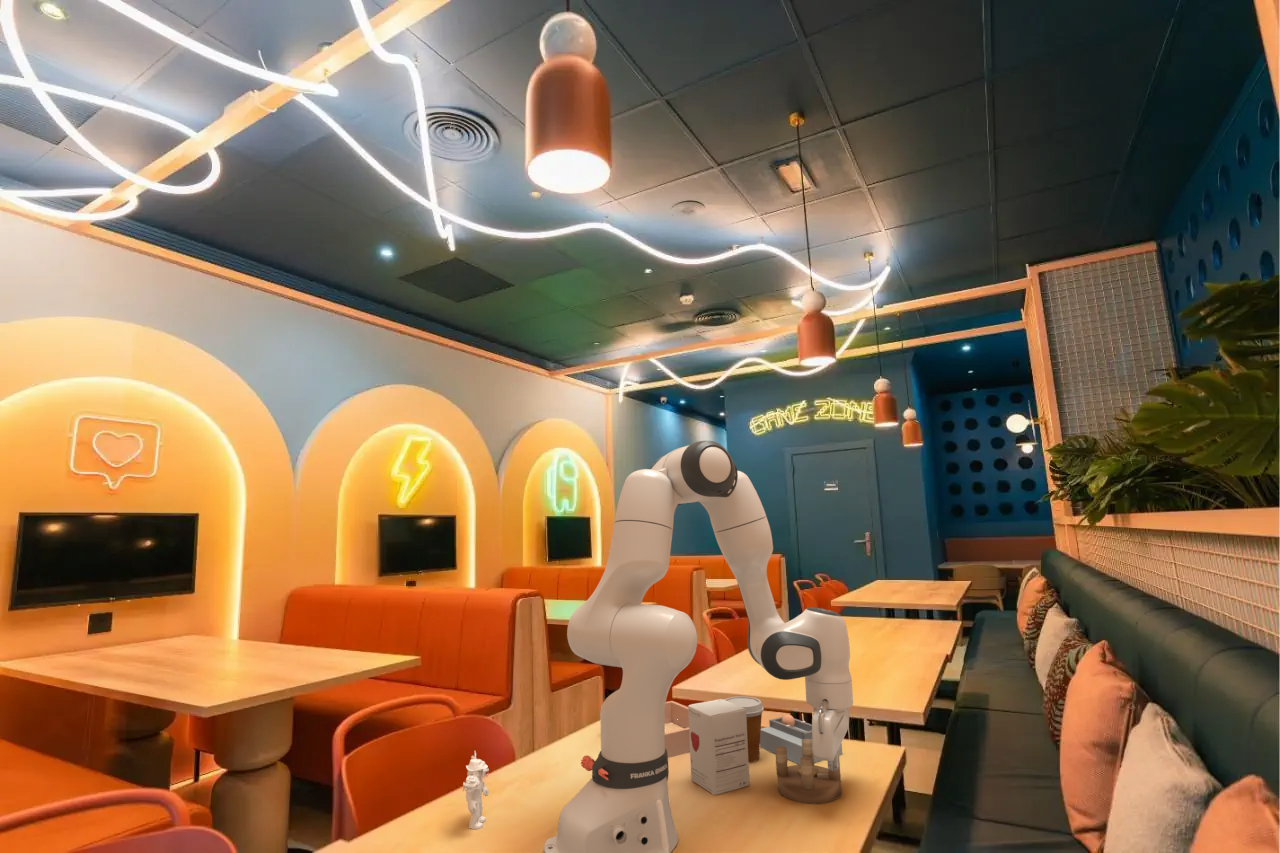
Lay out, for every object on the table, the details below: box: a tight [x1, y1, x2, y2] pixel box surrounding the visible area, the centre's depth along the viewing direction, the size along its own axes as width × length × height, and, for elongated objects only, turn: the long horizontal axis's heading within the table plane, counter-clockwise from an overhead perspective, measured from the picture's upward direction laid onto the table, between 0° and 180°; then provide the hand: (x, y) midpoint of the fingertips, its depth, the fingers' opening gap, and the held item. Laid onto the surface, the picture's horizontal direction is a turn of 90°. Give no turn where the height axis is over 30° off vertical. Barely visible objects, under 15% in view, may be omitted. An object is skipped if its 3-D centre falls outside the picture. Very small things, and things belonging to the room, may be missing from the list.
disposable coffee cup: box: [724, 695, 764, 763], centre depth 145 cm, size 10×10×12 cm
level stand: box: [760, 716, 843, 765], centre depth 148 cm, size 12×14×6 cm
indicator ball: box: [782, 714, 795, 727], centre depth 151 cm, size 3×3×3 cm
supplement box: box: [687, 698, 751, 796], centre depth 132 cm, size 9×9×15 cm
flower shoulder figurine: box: [462, 751, 490, 830], centre depth 117 cm, size 9×4×12 cm, turn 178°
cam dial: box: [775, 739, 842, 804], centre depth 126 cm, size 12×12×8 cm
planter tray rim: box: [665, 700, 690, 758], centre depth 158 cm, size 21×22×5 cm
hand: (833, 769), depth 123 cm, fingers closed
